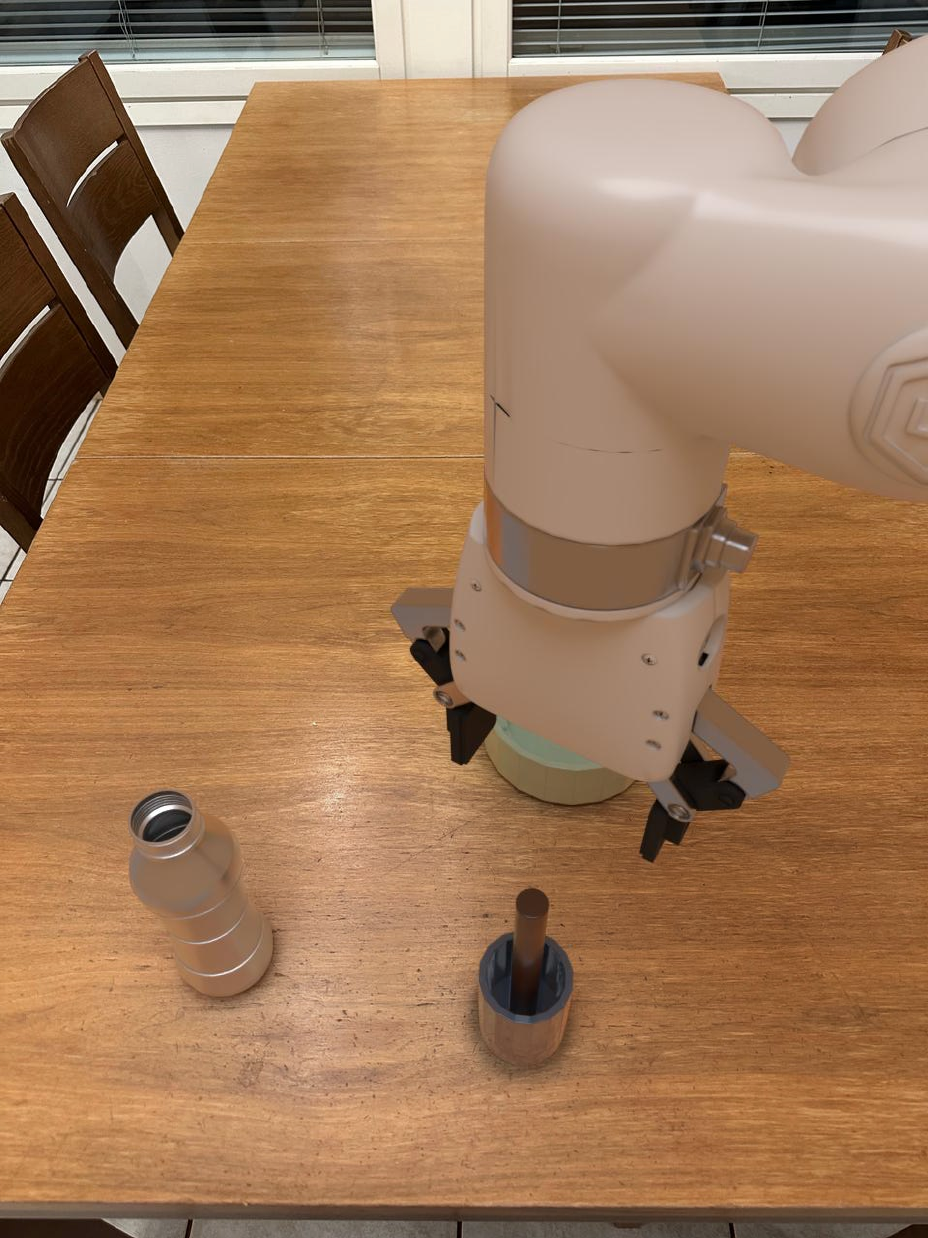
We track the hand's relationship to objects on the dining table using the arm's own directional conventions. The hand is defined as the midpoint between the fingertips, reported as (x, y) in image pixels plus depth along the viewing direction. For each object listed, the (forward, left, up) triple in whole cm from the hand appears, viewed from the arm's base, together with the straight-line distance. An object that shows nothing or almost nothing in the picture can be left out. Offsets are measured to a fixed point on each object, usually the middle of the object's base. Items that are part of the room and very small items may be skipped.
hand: (563, 787), depth 44 cm
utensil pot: (0, +1, -28) cm, 28 cm away
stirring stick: (0, +1, -26) cm, 26 cm away
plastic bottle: (+20, +7, -28) cm, 36 cm away
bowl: (+7, -22, -28) cm, 36 cm away
